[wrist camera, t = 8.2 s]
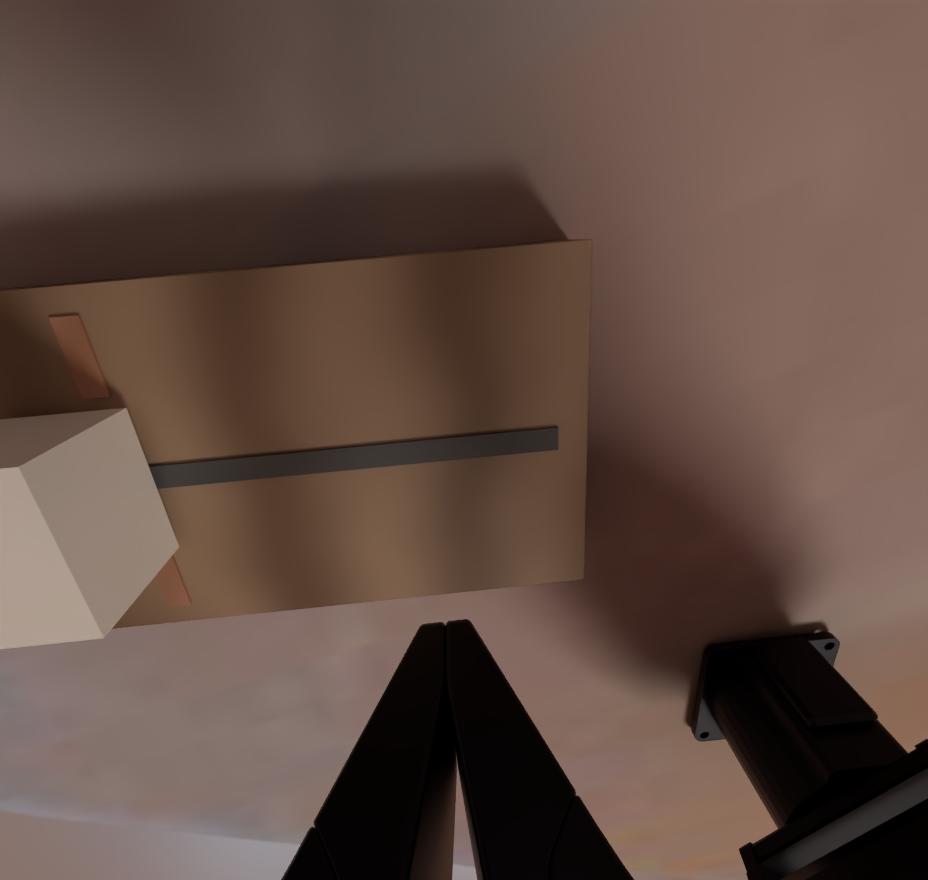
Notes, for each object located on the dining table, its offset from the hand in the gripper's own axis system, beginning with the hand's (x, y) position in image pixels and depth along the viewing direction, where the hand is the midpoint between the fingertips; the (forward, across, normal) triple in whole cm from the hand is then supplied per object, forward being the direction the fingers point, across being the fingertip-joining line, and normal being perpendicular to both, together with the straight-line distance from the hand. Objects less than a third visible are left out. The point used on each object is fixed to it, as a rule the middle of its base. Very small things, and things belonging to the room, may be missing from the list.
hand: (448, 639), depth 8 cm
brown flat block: (+11, +5, 0) cm, 12 cm away
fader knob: (+8, +11, 0) cm, 14 cm away
